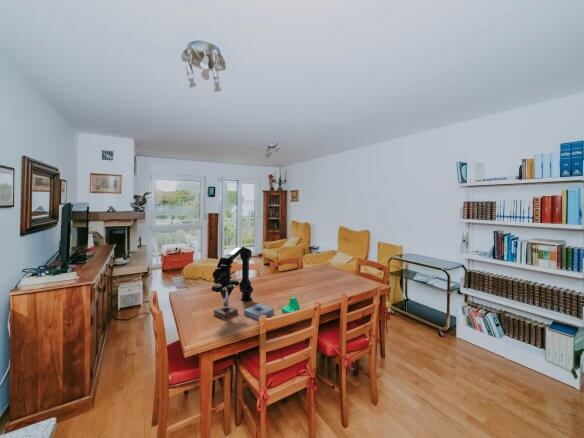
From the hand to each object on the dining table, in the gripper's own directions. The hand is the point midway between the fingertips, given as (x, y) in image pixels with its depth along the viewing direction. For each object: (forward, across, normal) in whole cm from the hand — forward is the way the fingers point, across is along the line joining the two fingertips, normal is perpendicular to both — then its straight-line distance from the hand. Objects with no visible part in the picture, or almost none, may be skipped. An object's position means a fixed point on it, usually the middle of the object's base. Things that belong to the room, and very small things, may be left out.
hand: (225, 298), depth 167 cm
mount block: (+11, 0, 0) cm, 11 cm away
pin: (+5, 0, 0) cm, 5 cm away
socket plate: (+11, -14, +17) cm, 25 cm away
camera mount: (+11, -29, +33) cm, 45 cm away
